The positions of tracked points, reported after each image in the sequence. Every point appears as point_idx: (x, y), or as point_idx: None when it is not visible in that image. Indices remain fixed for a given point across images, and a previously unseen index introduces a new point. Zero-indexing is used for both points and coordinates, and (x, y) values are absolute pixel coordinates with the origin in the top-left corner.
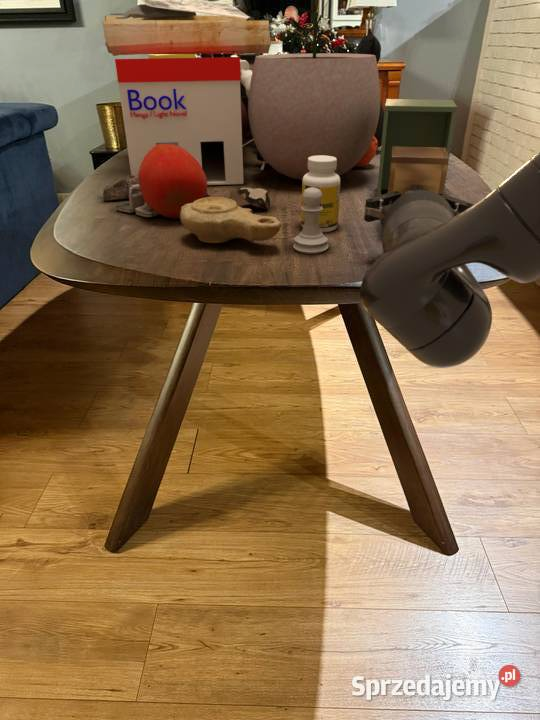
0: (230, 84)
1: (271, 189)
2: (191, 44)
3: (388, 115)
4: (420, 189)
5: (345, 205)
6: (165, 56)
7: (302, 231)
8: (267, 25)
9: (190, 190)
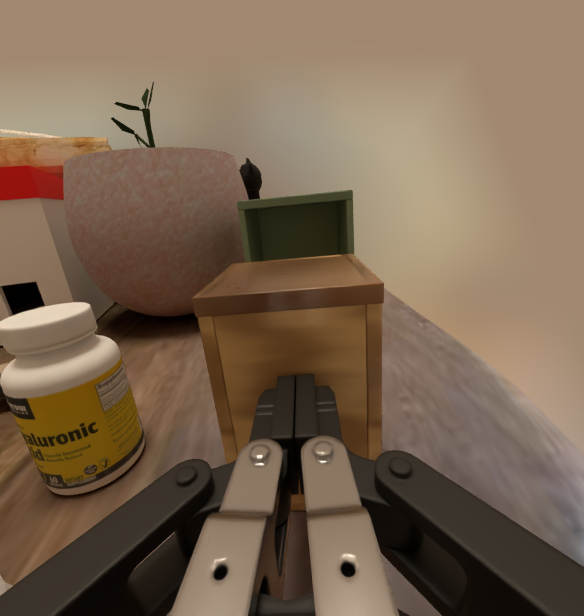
0: (24, 204)
1: (115, 337)
2: None
3: (256, 221)
4: (304, 412)
5: (204, 361)
6: None
7: None
8: (105, 142)
9: None
